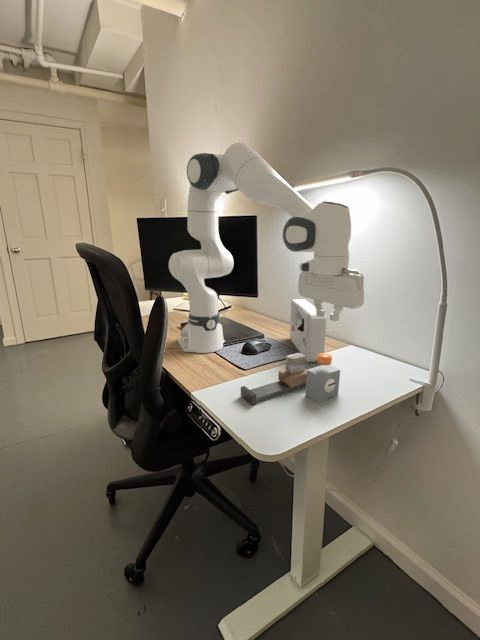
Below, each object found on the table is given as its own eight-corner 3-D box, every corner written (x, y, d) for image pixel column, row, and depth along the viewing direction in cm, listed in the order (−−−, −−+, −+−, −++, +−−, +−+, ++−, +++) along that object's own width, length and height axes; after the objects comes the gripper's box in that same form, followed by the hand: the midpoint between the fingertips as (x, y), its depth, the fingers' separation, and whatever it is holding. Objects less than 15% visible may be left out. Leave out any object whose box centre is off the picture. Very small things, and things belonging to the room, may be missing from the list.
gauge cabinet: (305, 395, 95) (306, 369, 93) (325, 388, 99) (327, 363, 97) (319, 403, 91) (321, 377, 88) (339, 395, 95) (341, 370, 92)
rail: (240, 396, 95) (240, 386, 94) (304, 376, 107) (304, 367, 106) (252, 405, 90) (252, 395, 89) (317, 383, 102) (318, 374, 101)
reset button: (313, 361, 93) (314, 355, 92) (323, 358, 95) (324, 352, 94) (324, 366, 90) (324, 359, 89) (334, 363, 92) (334, 356, 91)
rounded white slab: (284, 338, 144) (285, 298, 139) (301, 337, 144) (303, 297, 139) (302, 364, 116) (305, 315, 111) (323, 363, 117) (326, 315, 112)
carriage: (278, 379, 101) (279, 355, 99) (298, 373, 105) (299, 350, 103) (291, 387, 96) (292, 362, 94) (311, 380, 100) (312, 356, 98)
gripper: (372, 270, 78) (367, 325, 82) (312, 262, 95) (309, 309, 99) (354, 272, 75) (349, 329, 79) (295, 264, 92) (293, 312, 95)
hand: (327, 318), depth 89 cm, fingers open, 4 cm apart
